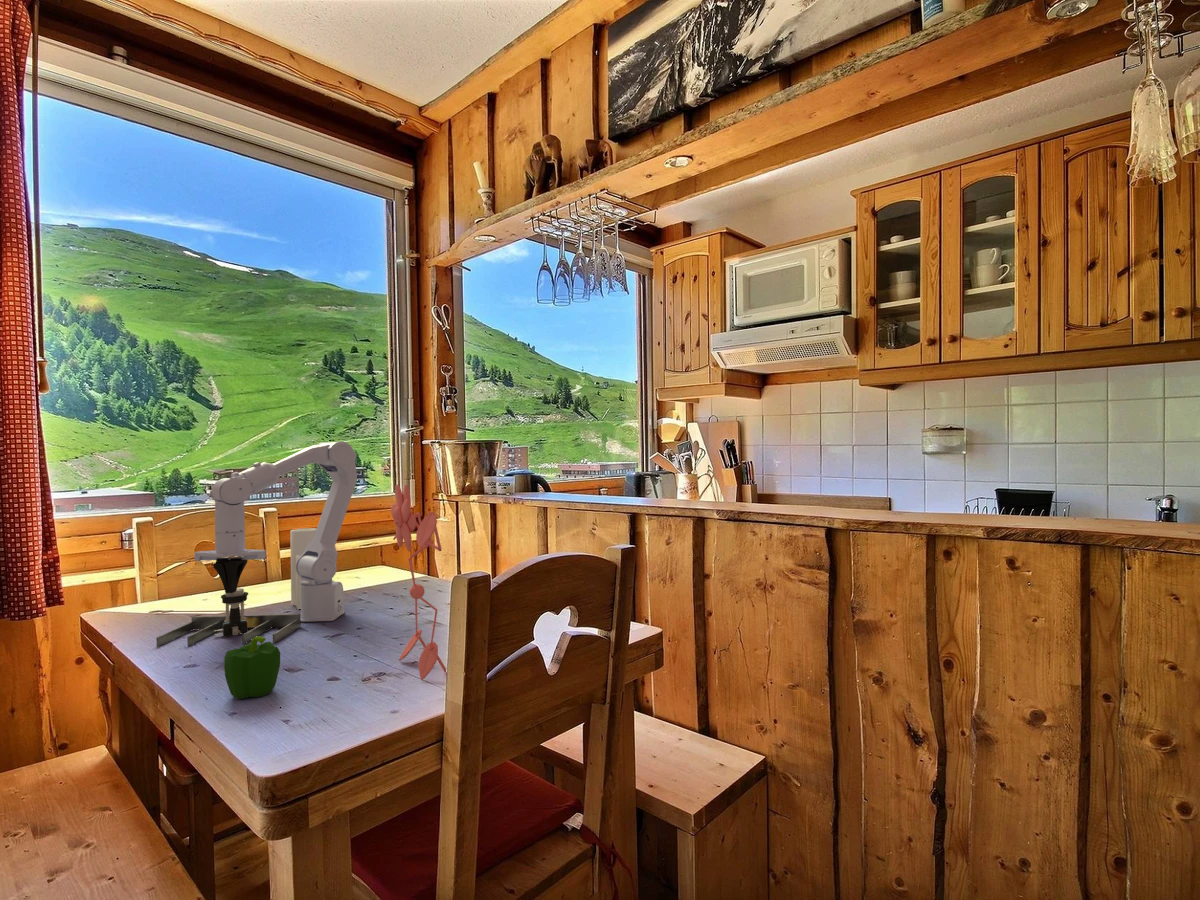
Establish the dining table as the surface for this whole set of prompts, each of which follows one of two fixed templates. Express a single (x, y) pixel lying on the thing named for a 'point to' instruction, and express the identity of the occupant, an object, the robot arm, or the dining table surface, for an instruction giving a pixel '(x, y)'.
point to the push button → (234, 613)
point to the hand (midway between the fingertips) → (230, 592)
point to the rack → (216, 622)
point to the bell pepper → (252, 669)
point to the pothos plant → (427, 527)
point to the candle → (298, 545)
